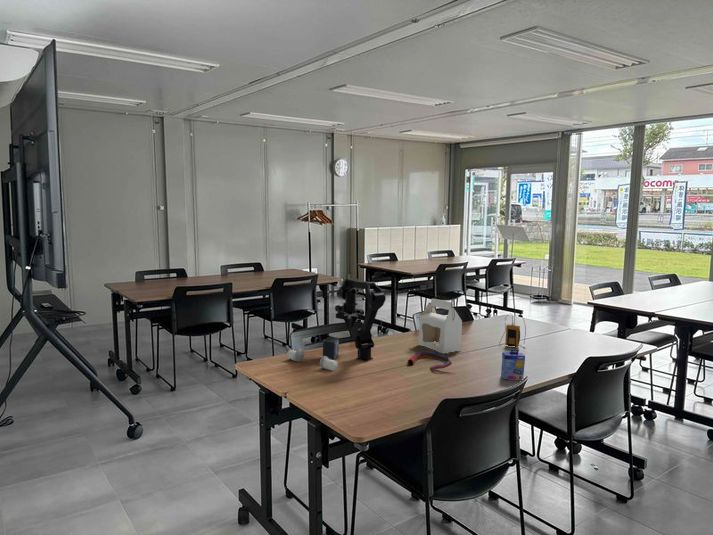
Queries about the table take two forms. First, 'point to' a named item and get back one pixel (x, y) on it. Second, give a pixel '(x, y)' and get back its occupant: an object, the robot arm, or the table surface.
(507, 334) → the multimeter
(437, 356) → the toy snake
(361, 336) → the robot arm
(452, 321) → the gable box
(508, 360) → the ink cartridge box
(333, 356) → the small box
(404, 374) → the table surface
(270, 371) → the table surface
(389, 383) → the table surface
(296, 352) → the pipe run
